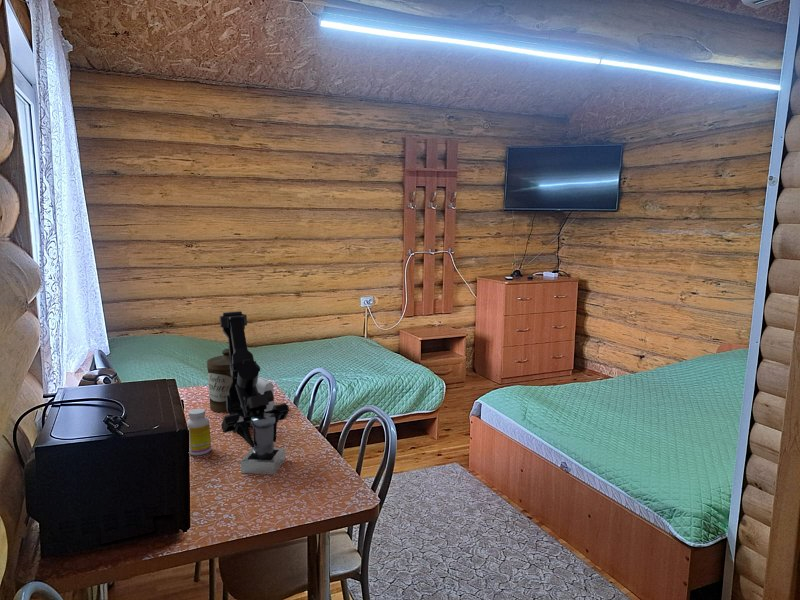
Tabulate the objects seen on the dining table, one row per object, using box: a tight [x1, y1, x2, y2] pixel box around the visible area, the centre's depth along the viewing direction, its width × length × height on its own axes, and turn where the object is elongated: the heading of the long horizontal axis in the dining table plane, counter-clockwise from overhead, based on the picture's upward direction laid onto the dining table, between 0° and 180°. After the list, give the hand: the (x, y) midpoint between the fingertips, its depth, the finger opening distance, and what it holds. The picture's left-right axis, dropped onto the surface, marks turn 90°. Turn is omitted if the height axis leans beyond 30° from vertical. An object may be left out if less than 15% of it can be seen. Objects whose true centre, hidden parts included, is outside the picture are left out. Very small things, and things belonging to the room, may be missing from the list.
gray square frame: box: [240, 447, 286, 475], centre depth 161 cm, size 10×10×4 cm
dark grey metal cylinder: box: [251, 413, 275, 460], centre depth 160 cm, size 7×7×14 cm
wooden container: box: [206, 348, 232, 414], centre depth 210 cm, size 15×15×22 cm
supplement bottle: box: [186, 408, 212, 456], centre depth 171 cm, size 7×7×13 cm
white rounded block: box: [256, 376, 275, 412], centre depth 205 cm, size 10×4×12 cm, turn 48°
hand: (264, 444), depth 159 cm, fingers closed on dark grey metal cylinder, 6 cm apart
